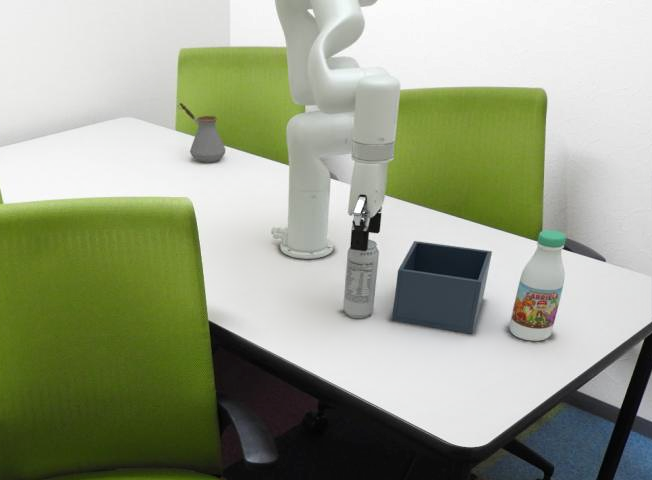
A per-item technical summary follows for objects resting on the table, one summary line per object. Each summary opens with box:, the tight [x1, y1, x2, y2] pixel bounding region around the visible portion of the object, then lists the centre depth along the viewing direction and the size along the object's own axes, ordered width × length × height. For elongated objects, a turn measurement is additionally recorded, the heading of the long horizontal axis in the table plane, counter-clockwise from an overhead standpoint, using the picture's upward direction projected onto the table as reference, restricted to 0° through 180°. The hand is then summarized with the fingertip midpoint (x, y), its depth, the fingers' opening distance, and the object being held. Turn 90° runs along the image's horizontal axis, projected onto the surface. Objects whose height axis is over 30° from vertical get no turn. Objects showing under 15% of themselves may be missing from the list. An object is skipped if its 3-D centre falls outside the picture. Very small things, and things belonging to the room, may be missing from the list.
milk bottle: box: [509, 229, 567, 342], centre depth 141 cm, size 8×8×20 cm
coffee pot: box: [177, 102, 226, 164], centre depth 244 cm, size 21×12×15 cm, turn 35°
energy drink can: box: [342, 239, 380, 319], centre depth 151 cm, size 6×6×15 cm
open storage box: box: [391, 240, 493, 335], centre depth 152 cm, size 16×16×11 cm
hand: (365, 240), depth 146 cm, fingers open, 9 cm apart
